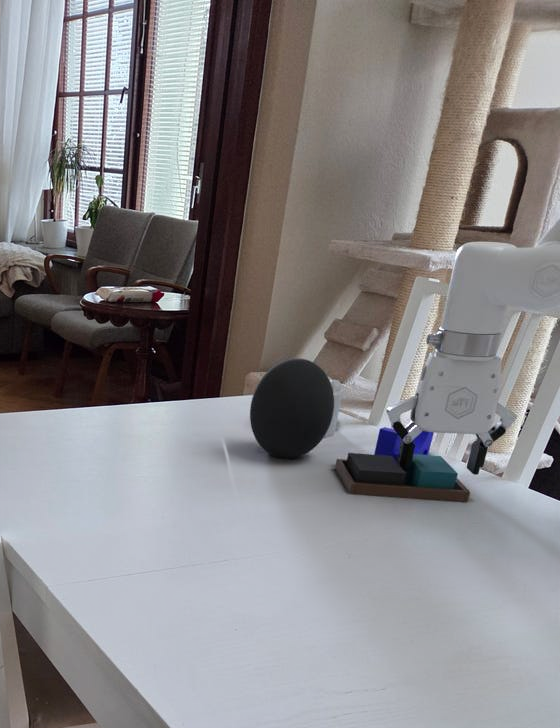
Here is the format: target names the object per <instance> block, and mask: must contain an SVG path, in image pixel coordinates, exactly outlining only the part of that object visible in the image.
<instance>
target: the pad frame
mask: <svg viewBox="0 0 560 728" xmlns="http://www.w3.org/2000/svg"><path fill="white" fill-rule="evenodd" d="M346 462H347V458H346V459H345V458H344V459H343V458H336V460H335V466H334V470H335V472H336V474H337V475H338V477H339V479H340V480H341V482H342V484H343V485H344V487H345V489H346V490H347V492H348V494H349V495H353V496H354V495H356V496H368V497H369V496H370V497H383V498H398V499H411V500H412V499H413V500H425V501H426V500H427V501H439V502H451V503H454V502H455V503H468V502H469V499H470V496H471V495H470V494H471V491H470V490H469V489H468V488H467V487H466V486H465V485H464V484H463V482H461V481H460V480H459V478H458V477H457V478H456V482H455V485H454V489H439V488H425V487H411V486H408V485H407V483H406V482H405V481H404V483H403V486H397V485H383V484H369V483H355V482H354V480H353V478H352V477H351V475H350V474H349V472H348V470H347V469H346ZM398 464H399V463H398ZM399 465H400V464H399Z"/></svg>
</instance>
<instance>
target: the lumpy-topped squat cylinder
mask: <svg viewBox="0 0 560 728" xmlns="http://www.w3.org/2000/svg"><path fill="white" fill-rule="evenodd" d="M327 377H328V378H329V380H330V383H331V385H332V389H333V394H334V412H333V417H332V421H331V424H330V426H329V429H328V431H327V432H326V434H325V436H324V437H323V439H324V438H329V437H331V436H333V435H335V432H336V428H337V423H338V417H339V413H340V409H341V404H342V398H343V393H344V389H343V385H342V383H341V382H340V381H339V380H338V379H333V378H331V377H330V376H328V375H327Z"/></svg>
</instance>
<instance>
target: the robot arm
mask: <svg viewBox="0 0 560 728" xmlns="http://www.w3.org/2000/svg"><path fill="white" fill-rule="evenodd" d="M452 266H453V267H452V271H451V275H450V281H449V285H448V289H447V294H446V299H445V304H444V309H443V314H442V318H441V323H440V327H438V329H437V331H436V332H435V333H428V335H427V336H426V345H430V346H432V347H434V349H435V351H430V352H429V355H428V357H427V359H426V360H425V364H424V366H423V369H422V371H421V375H420V377H419V381H418V383H417V386H416V390H415V394H414V395H413V396H411V397H409V398H406V399H404V400H403V401H400V402H398V403H396V404H394V405H391V406H389V407H388V408H386V415H387V417H388V420H389V423H390V426H391V429H394V430H395V431H396V433H397V434H398V435H399V437H400V438H401V443H400V448H399V453H398V458H397V462H398V463H399V464H400V467H401V468H402V469H403V470H404V471H410V468H411V463H412V458H413V454H414V449H415V444H414V443H413V440H414V439H415V438H416V437H417V436H418V435H419V434H420V433H421V432H422V431H426V432H434V433H440V434H458V435H460V434H461V435H475V437H476V440H474V441H473V442H472V443H471V447H470V452H469V455H468V460H467V465H466V469H467V470H468V471H469V472H470V474H472V475H473V476H475V475H479V473H480V469H481V468H483V467H484V465H485V461H486V457H487V454H488V449H489V448H490V447H492V445H493V444H494V442H496V441H497V440H499V439H500V438H501V437H503V436H504V435H505V434H506V432H507V430H508V429H509V428H510V427H511V426H512V425H513V424H514V422H515V421H516V420H517V418H518V416H517V414H515V413H514V412H512V411H511V410H510V409H508V408H506V407H505V406H504V405H502V404H501V403H499V402H498V399H499V394H500V387H501V377H502V360H503V359H502V357H499V356H497V353H498V352H497V351H498V346H499V343H500V338H501V335H502V331H503V328H504V323H505V321H506V320H505V319H506V315H507V311H508V307H509V306H510V307H516V308H519V309H525V310H528V311H534V312H542V313H543V312H544V313H545V312H551V311H555V310H558V309H560V216H559V217H558V218H557V220H556V221H555V222H554V223H553V224H552V226H551V227H550V228H549V229H548V230H547V231H546V232H545V234H544V235H543V236H542V237H541V238H540V239H539V241H538V242H537V243H536V244H535V245H534V246H532V247H531V246H530V247H517V246H516V245H514V244H512V243H507V242H497V241H470V242H466V243H464V244H462V245H461V246H460V247H459V248H458V249H457V252H456V253H455V258H454V261H453V265H452ZM409 411H410V418H409V419H410V422H409V423H408V424H406V425H405V426H404V425H403V423H402V420H401V415H402V414H405V413H406V412H409ZM496 415H498V416H499V417H500V418H499V421H498V422H497V423H496V424H495V425H494V421H495V416H496ZM493 425H494V426H493Z"/></svg>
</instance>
